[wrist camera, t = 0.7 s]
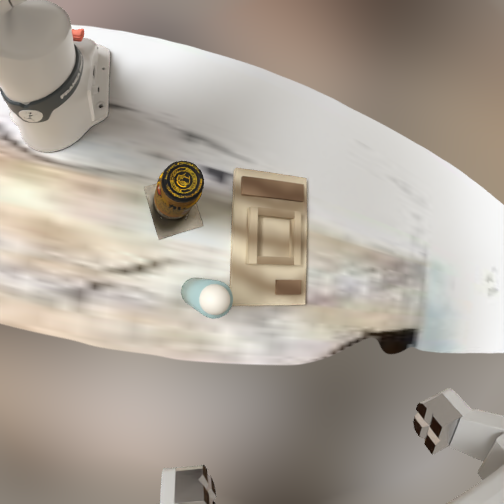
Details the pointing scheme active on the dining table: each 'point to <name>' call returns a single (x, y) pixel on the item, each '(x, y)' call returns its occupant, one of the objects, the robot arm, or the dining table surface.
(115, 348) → the dining table surface
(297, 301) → the jig
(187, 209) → the condiment
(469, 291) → the dining table surface
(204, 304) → the roll-on deodorant
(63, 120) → the robot arm
